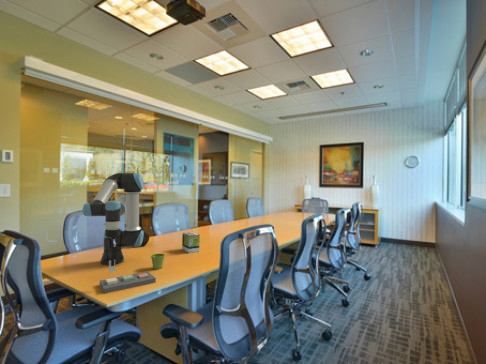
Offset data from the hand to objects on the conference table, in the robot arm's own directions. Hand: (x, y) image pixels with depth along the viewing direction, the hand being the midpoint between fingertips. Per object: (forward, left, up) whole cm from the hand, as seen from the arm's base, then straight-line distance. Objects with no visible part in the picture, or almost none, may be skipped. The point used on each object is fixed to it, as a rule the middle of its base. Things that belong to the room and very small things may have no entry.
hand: (111, 271), depth 149 cm
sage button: (0, +9, -7) cm, 11 cm away
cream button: (0, 0, -7) cm, 7 cm away
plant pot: (-18, +32, -9) cm, 38 cm away
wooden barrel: (-90, +40, -9) cm, 99 cm away
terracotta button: (0, +17, -8) cm, 19 cm away
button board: (0, +9, -9) cm, 12 cm away
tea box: (-48, +71, -9) cm, 86 cm away
